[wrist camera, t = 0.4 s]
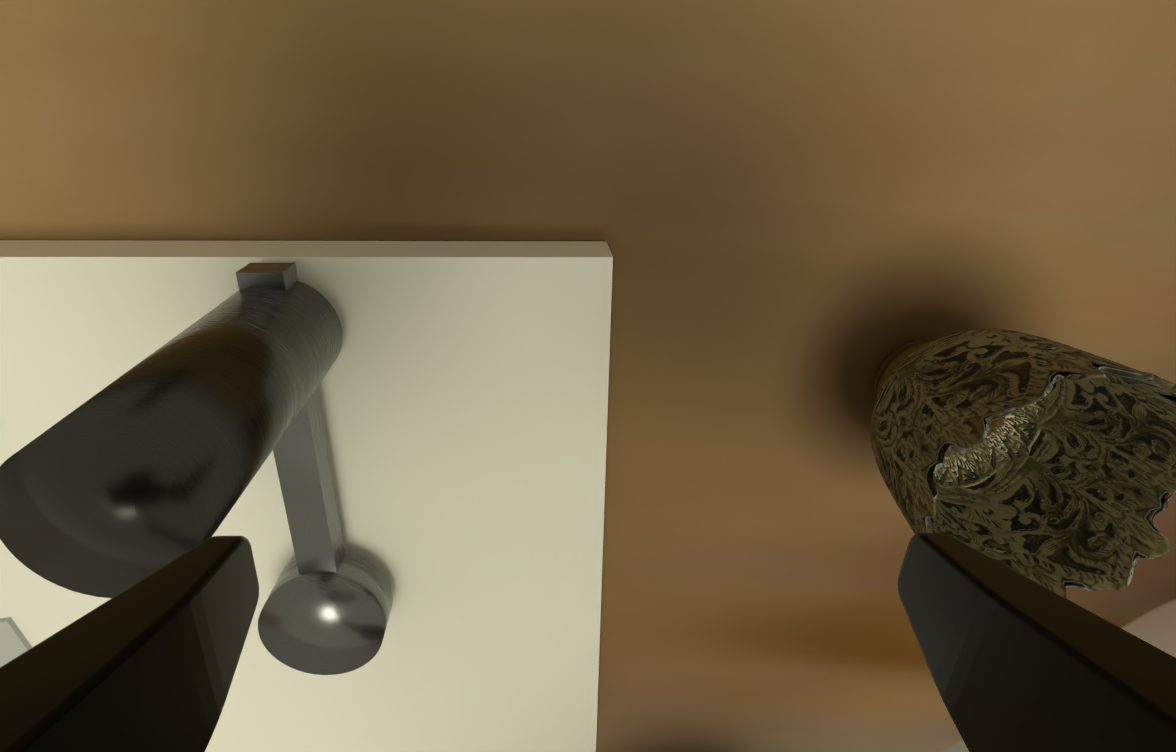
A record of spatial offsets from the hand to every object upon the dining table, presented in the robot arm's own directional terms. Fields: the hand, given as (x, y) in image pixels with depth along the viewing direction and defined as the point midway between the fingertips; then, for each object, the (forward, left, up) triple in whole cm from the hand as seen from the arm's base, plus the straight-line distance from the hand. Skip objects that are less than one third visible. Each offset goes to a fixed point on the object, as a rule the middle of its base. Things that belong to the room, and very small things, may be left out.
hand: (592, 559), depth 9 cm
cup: (-4, -13, -14) cm, 20 cm away
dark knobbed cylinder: (-6, +8, -11) cm, 15 cm away
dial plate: (-10, +11, -14) cm, 20 cm away
